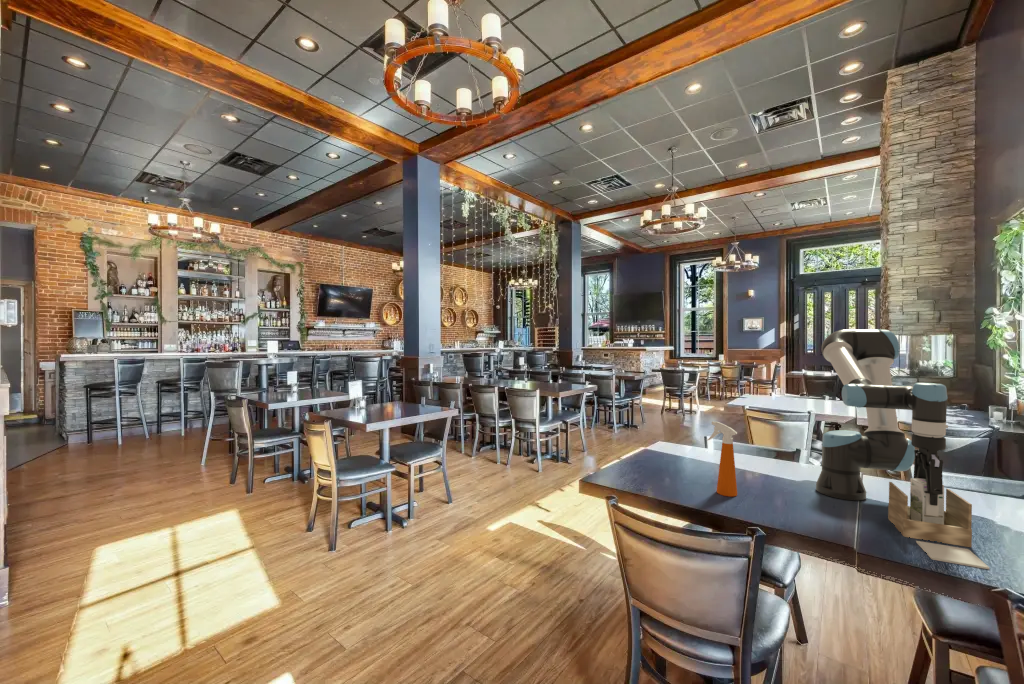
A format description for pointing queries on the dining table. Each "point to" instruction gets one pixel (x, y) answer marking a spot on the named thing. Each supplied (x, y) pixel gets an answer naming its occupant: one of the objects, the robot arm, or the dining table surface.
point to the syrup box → (923, 502)
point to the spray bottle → (726, 461)
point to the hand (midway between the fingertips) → (926, 510)
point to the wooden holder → (950, 533)
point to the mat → (951, 554)
